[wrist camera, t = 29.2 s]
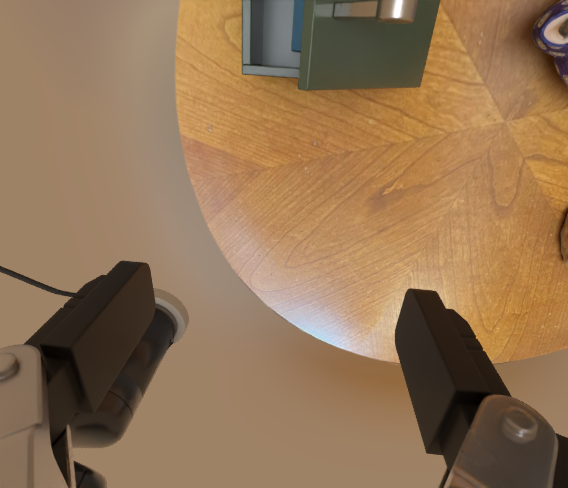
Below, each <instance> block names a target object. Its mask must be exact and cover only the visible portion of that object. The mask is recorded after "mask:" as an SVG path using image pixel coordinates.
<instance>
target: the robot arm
mask: <svg viewBox="0 0 568 488" xmlns="http://www.w3.org/2000/svg"><path fill="white" fill-rule="evenodd" d="M0 272H2V273H5V274H7V275H9V276H12V277H14V278H17V279H19V280H22V281H24V282H26V283H29V284H31V285H34V286H36V287H39V288H41V289H44V290H46V291H49V292H51V293H54V294H58V295H62V296H68V297H73V298H71V299H70V300H69V301H68V302H67V303H65V305H64V307H63V308H60V309H59V310H58V311H57V312H56V313H55V314H54V315H53V316H52V317H51V318H50V319H49V320H48V321H47V322H46V323H45V324H44V325H43V326H42V327H41V328H40V329H39V330H38V331H37V332H36V333H35V334H34V335H33V336H32V337H31V338H30V339H29V340H28V341H26V343H24V344H23V345H12V346H8V347H4V348H1V349H0V488H107V482H106V479H105V477H103V475H101V474H100V473H98V472H97V471H95V470H93V469H91V468H89V467H87V466H86V467H85V465H82V464H80V463H78V462H76V461H74V460H73V451H72V448H103V447H108V446H111V445H113V444H115V443H117V442H118V441H119V440H120V439H121V438H122V437H123V435H124V433H125V432H126V430H127V428H128V426H129V424H130V422H131V420H132V418H133V416H134V414H135V412H136V410H137V408H138V406H139V404H140V402H141V400H142V398H143V396H144V394H145V392H146V390H147V388H148V386H149V384H150V382H151V381H152V379H153V377H154V375H155V373H156V371H157V369H158V367H159V365H160V363H161V361H162V359H163V357H164V355H165V353H166V351H167V350H168V348H169V347H170V346H171V345H172V343H173V341H174V340H173V338H174V337H175V335H176V333H177V330H178V324H177V320H176V318H175V317H174V315H173V314H172V313H171V312H170V311H169V310H168V309H167V308H165V307H163V306H162V305H159V304H157V303H155V297H154V291H153V284H152V278H151V271H150V267H149V265H148V264H147V263H142V262H130V261H120V262H119V263H118V264H117V265H116V266H115V267H114V268H113V269H112V270H111V271H110V272H109V273H108V274H107V275H101V276H99V277H97V278H96V279H94V280H92V281H90V282H88V283H87V284H85V285H84V286H83V287H82V288H81V289H80V290H79V291H78V292H77V293H72V292H67V291H62V290H59V289H55V288H52V287H49V286H48V285H45V284H43V283H40V282H37V281H35V280H33V279H30V278H28V277H25V276H23V275H21V274H18V273H16V272H14V271H11V270H8V269H6V268H3V267H1V266H0ZM172 340H173V341H172ZM171 342H172V343H171ZM170 343H171V344H170ZM395 345H396V350H397V353H398V356H399V360H400V363H401V367H402V370H403V373H404V377H405V380H406V384H407V388H408V391H409V394H410V398H411V401H412V405H413V408H414V412H415V415H416V419H417V422H418V425H419V429H420V432H421V436H422V439H423V442H424V446H425V449H426V453H428V454H437V455H443V456H444V459H445V462H446V465H447V468H446V470H445V472H444V474H443V476H442V478H441V481H440V483H439V485H438V488H568V438H567V437H564V436H561V435H559V434H556V433H555V432H554V430H553V428H552V427H551V425H550V424H549V423H548V422H547V421H546V419H545V418H544V417H543V416H542V415H541V414H539V413H538V412H537V411H536V410H534V409H533V408H532V407H530V406H529V405H527V404H525V403H524V402H522V401H520V400H518V399H515V398H513V397H512V396H511V395H510V393H509V391H508V390H507V388H506V386H505V385H504V383H503V381H502V379H501V378H500V376H499V374H498V373H497V371H496V369H495V368H494V366H493V364H492V363H491V361H490V359H489V358H488V356H487V354H486V352H485V351H483V347H482V346H481V344H480V342H479V341H478V339H476V336H475V334H474V332H473V331H472V329H471V327H470V325H469V324H468V322H467V321H466V320H465V319H463V318H462V317H461V316H460V315H459V314H458V313H457V312H456V311H454V310H453V309H446V308H445V306H444V304H443V302H442V300H441V299H440V297H439V295H438V293H437V292H436V291H432V290H421V289H408V290H407V292H406V294H405V298H404V301H403V304H402V308H401V311H400V315H399V318H398V321H397V325H396V329H395Z"/></svg>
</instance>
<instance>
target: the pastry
mask: <svg viewBox="0 0 568 488" xmlns="http://www.w3.org/2000/svg"><path fill="white" fill-rule="evenodd" d="M560 235H561V253H562V255H563V259H564V263H565V264H566V265H567V266H568V213H567V217H566V218H565V223H564V226H563V228H562V229H561V233H560Z"/></svg>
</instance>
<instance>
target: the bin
mask: <svg viewBox="0 0 568 488" xmlns="http://www.w3.org/2000/svg"><path fill="white" fill-rule="evenodd" d="M293 14H294V0H242V64H243V65H242V74H244V75H258V76H272V77H286V78H299V68H300V54H301V52H293V51H292V50H291V45H292V29H293Z"/></svg>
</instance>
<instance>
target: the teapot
mask: <svg viewBox="0 0 568 488" xmlns="http://www.w3.org/2000/svg"><path fill="white" fill-rule="evenodd" d="M532 37H533V40H534V42H535V45H536V46H537V47H538V48H539V49H540V50H541V51H543V52H545V53H547V54H549V55H552V56H553V58H554V63H555V67H556V70H557V72H558V74H559V76H560V78H561V79H562V81H563V82H564V83H565V84H566V86H567V87H568V0H561V1H559V2H557V3H556V4H554V5H552V6H551V7H549V8H548V9H547V10H546V11H545V12H544V13H543V14H542V15H541V16H540V18H539V19H538V20H537V21H536V23H535V25H534V27H533V30H532Z"/></svg>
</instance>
